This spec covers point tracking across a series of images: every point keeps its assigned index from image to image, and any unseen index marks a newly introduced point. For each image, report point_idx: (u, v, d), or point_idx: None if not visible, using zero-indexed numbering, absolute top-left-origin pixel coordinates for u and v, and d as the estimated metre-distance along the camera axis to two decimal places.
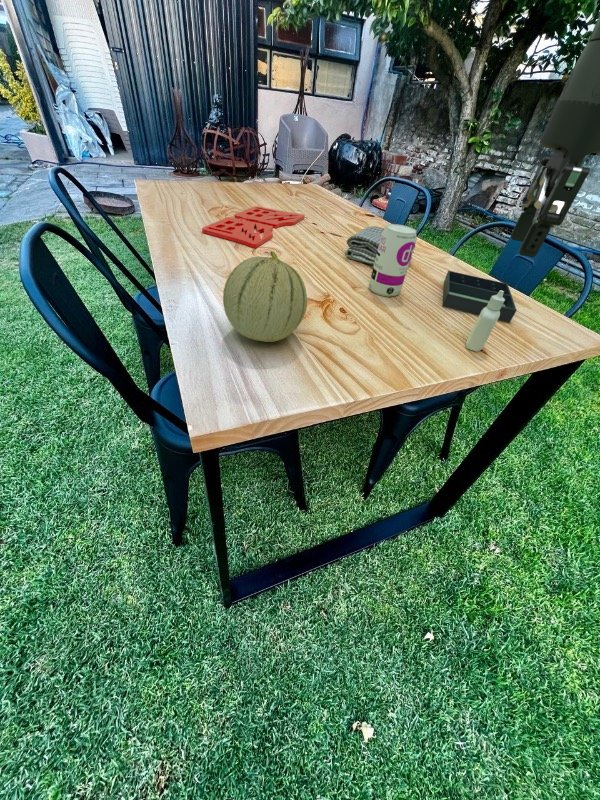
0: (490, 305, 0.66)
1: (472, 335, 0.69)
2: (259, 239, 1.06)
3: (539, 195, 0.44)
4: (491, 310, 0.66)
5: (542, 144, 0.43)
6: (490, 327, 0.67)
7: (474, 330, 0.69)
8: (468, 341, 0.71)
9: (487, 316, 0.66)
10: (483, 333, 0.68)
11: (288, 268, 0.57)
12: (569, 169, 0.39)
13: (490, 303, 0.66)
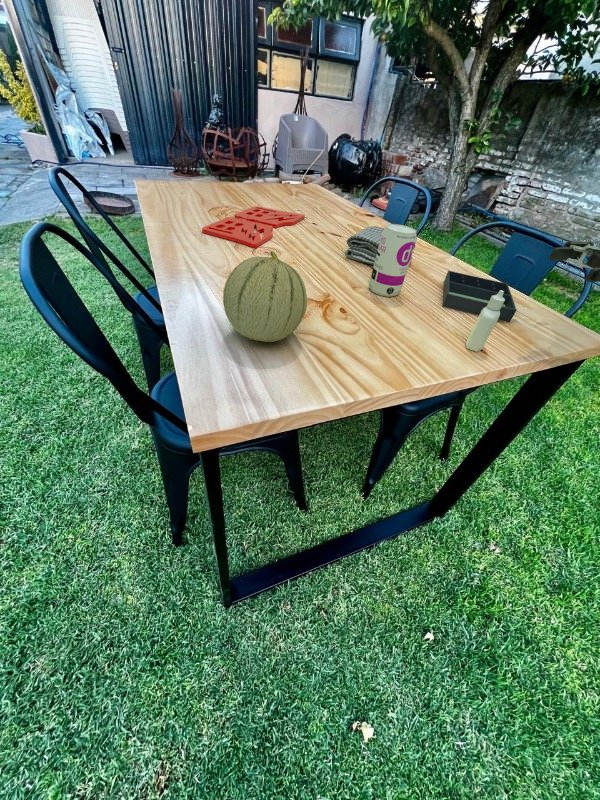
0: (490, 305, 0.66)
1: (472, 335, 0.69)
2: (259, 239, 1.06)
3: None
4: (491, 310, 0.66)
5: None
6: (490, 327, 0.67)
7: (474, 330, 0.69)
8: (468, 341, 0.71)
9: (487, 316, 0.66)
10: (483, 333, 0.68)
11: (288, 268, 0.57)
12: None
13: (490, 303, 0.66)
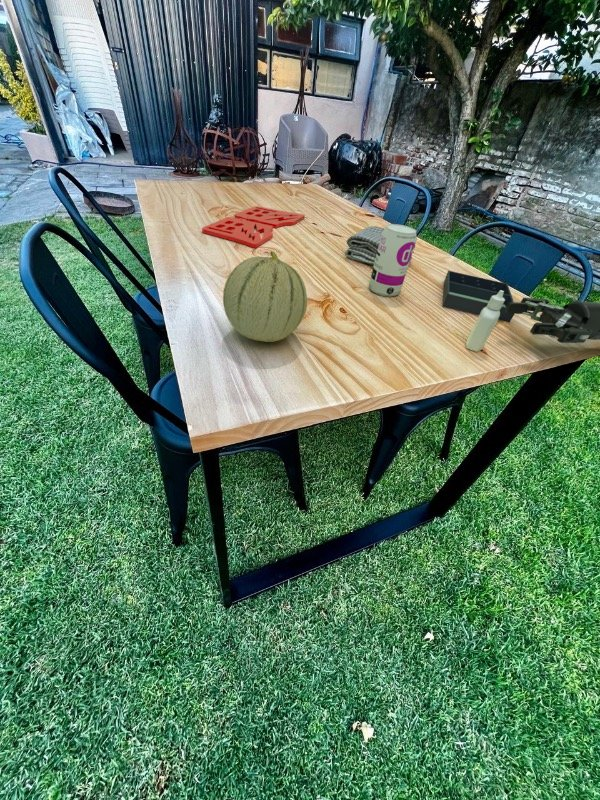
0: (490, 305, 0.66)
1: (472, 335, 0.69)
2: (259, 239, 1.06)
3: None
4: (491, 310, 0.66)
5: None
6: (490, 327, 0.67)
7: (474, 330, 0.69)
8: (468, 341, 0.71)
9: (487, 316, 0.66)
10: (483, 333, 0.68)
11: (288, 268, 0.57)
12: None
13: (490, 303, 0.66)
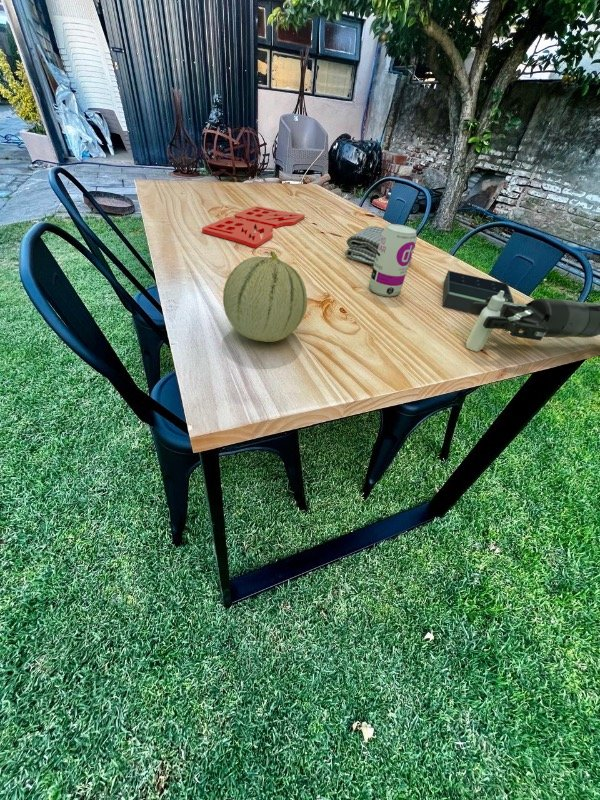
0: (490, 306, 0.66)
1: (472, 335, 0.69)
2: (259, 239, 1.06)
3: None
4: (491, 310, 0.66)
5: (522, 330, 0.72)
6: None
7: (474, 330, 0.69)
8: (468, 341, 0.70)
9: (487, 316, 0.66)
10: (483, 333, 0.67)
11: (288, 268, 0.57)
12: None
13: (490, 303, 0.66)
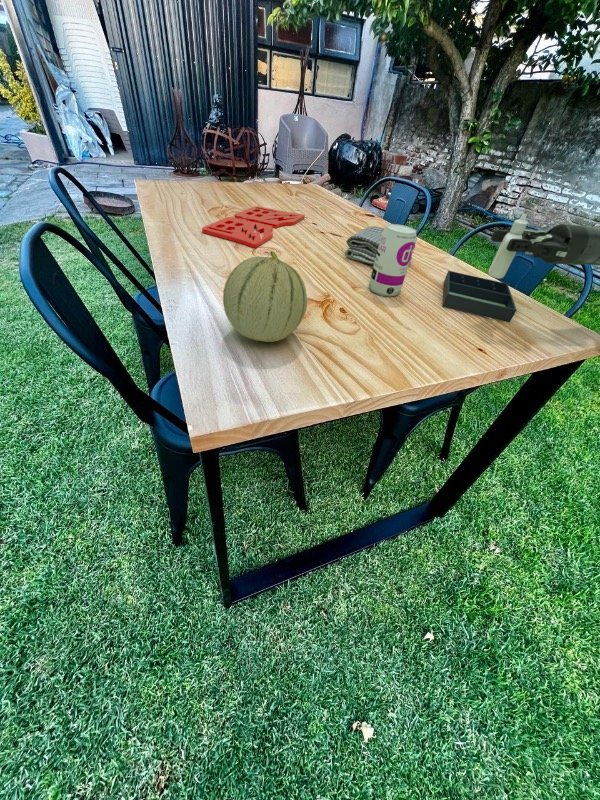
0: (513, 230, 0.69)
1: (495, 261, 0.72)
2: (259, 239, 1.06)
3: None
4: (514, 234, 0.69)
5: (542, 259, 0.75)
6: (513, 251, 0.70)
7: (497, 256, 0.72)
8: (491, 268, 0.74)
9: None
10: (506, 258, 0.71)
11: (288, 268, 0.57)
12: None
13: (513, 227, 0.69)
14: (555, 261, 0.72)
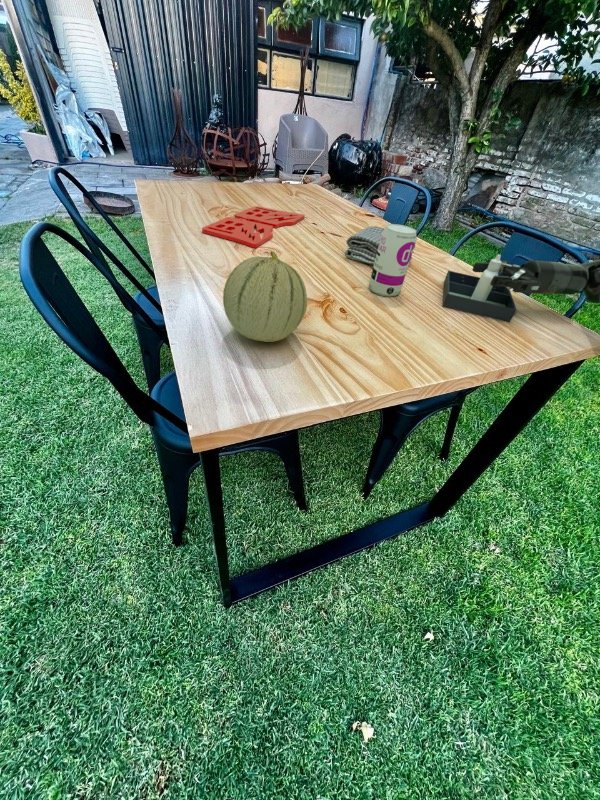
0: (490, 267, 0.81)
1: (475, 293, 0.84)
2: (259, 239, 1.06)
3: None
4: (490, 271, 0.81)
5: None
6: (490, 285, 0.82)
7: (477, 289, 0.84)
8: None
9: (487, 275, 0.81)
10: (484, 291, 0.82)
11: (288, 268, 0.57)
12: None
13: (490, 265, 0.81)
14: None
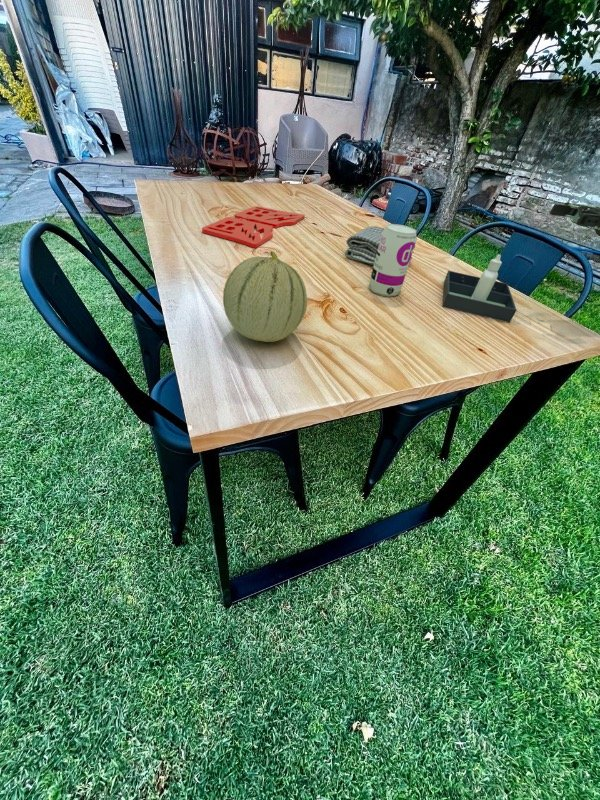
0: (490, 267, 0.81)
1: (475, 293, 0.84)
2: (259, 239, 1.06)
3: None
4: (490, 271, 0.81)
5: (597, 234, 0.80)
6: (490, 285, 0.82)
7: (477, 289, 0.84)
8: None
9: (487, 275, 0.81)
10: (484, 291, 0.82)
11: (288, 268, 0.57)
12: None
13: (490, 265, 0.81)
14: None
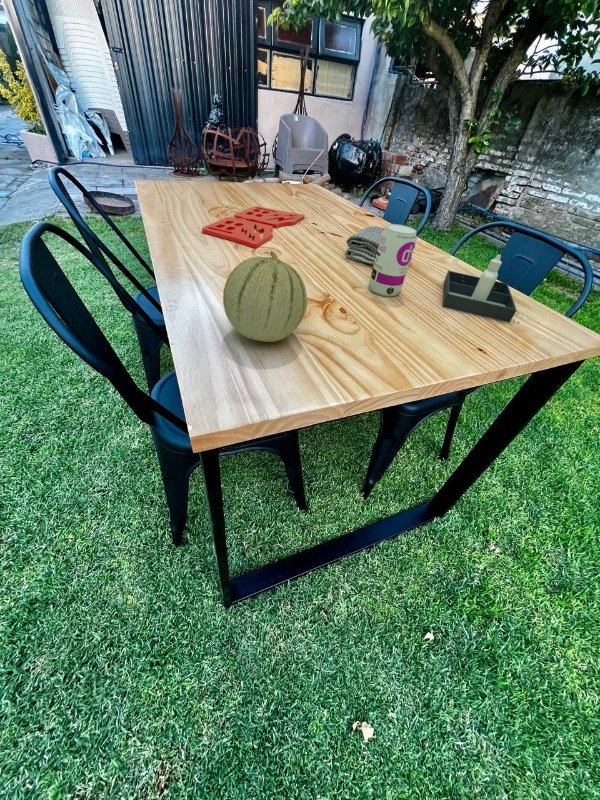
0: (490, 267, 0.81)
1: (475, 293, 0.84)
2: (259, 239, 1.06)
3: None
4: (490, 271, 0.81)
5: None
6: (490, 285, 0.82)
7: (477, 289, 0.84)
8: None
9: (487, 275, 0.81)
10: (484, 291, 0.82)
11: (288, 268, 0.57)
12: None
13: (490, 265, 0.81)
14: None
